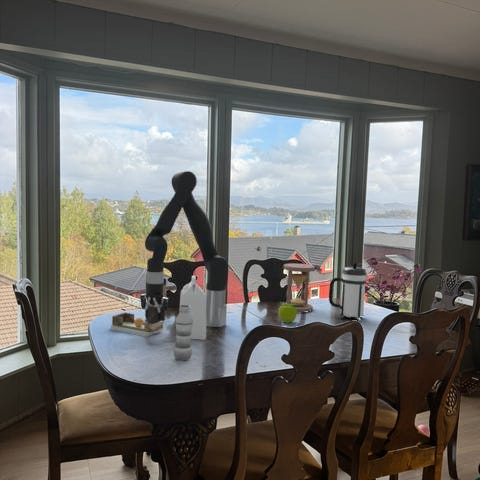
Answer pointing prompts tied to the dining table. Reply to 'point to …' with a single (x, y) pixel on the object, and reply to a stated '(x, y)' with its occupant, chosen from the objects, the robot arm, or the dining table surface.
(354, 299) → the coffee press
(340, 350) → the dining table surface
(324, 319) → the dining table surface
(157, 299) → the robot arm
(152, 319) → the kicker
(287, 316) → the fruit
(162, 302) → the travel mug
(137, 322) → the ball
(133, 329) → the shallow rectangular tray
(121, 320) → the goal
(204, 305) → the milk
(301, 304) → the hourglass
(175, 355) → the plastic bottle
